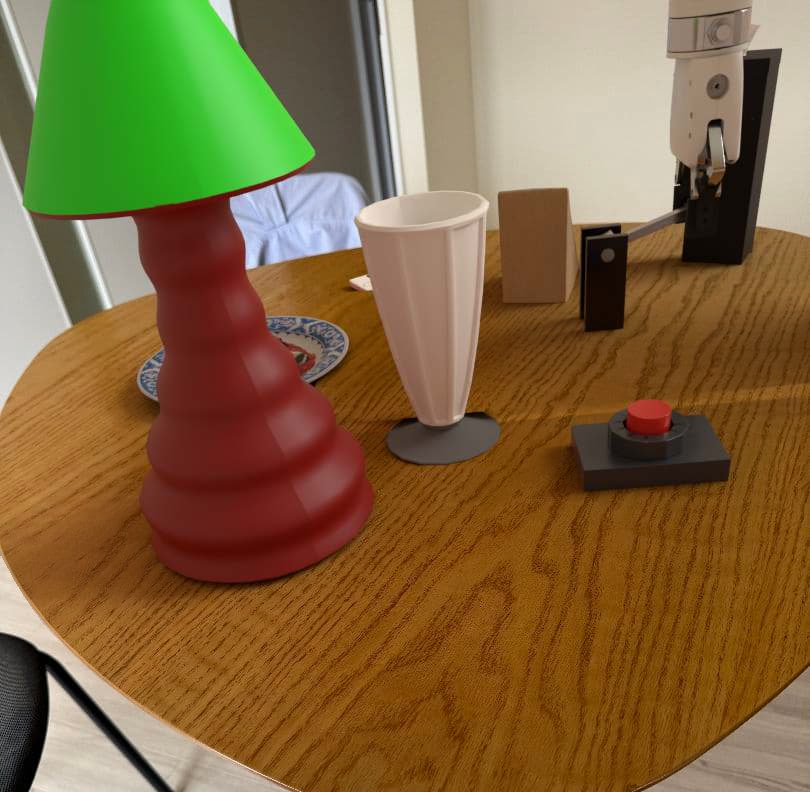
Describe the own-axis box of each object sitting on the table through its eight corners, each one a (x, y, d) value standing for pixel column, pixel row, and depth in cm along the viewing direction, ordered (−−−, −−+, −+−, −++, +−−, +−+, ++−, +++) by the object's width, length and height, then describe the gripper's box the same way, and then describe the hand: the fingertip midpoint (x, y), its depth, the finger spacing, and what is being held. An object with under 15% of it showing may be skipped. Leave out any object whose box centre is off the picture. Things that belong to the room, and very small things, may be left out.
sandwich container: (582, 271, 111) (584, 157, 102) (568, 312, 100) (569, 187, 91) (522, 272, 114) (519, 161, 105) (501, 312, 102) (496, 190, 93)
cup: (412, 478, 72) (380, 237, 59) (369, 428, 81) (334, 209, 68) (522, 443, 75) (515, 206, 62) (470, 398, 83) (454, 182, 71)
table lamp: (210, 624, 59) (-77, -182, 32) (121, 517, 72) (-131, -110, 46) (419, 515, 67) (329, -196, 40) (304, 438, 81) (180, -131, 54)
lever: (696, 210, 87) (691, 189, 86) (708, 222, 83) (703, 200, 82) (590, 256, 91) (584, 236, 89) (597, 269, 87) (591, 249, 85)
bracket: (644, 315, 96) (651, 215, 89) (659, 341, 90) (667, 235, 83) (546, 325, 97) (545, 227, 90) (553, 350, 91) (553, 247, 84)
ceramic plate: (323, 317, 109) (320, 296, 107) (377, 387, 88) (373, 362, 87) (137, 360, 104) (130, 338, 102) (148, 444, 83) (140, 419, 82)
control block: (702, 435, 72) (707, 395, 70) (727, 481, 66) (734, 440, 63) (570, 445, 73) (571, 407, 71) (583, 492, 67) (584, 452, 65)
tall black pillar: (740, 275, 103) (775, 23, 87) (679, 271, 107) (701, 29, 90) (752, 256, 109) (787, 15, 92) (693, 253, 112) (717, 21, 96)
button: (664, 415, 69) (666, 397, 68) (674, 435, 66) (676, 416, 65) (622, 418, 69) (623, 400, 68) (630, 438, 66) (631, 420, 65)
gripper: (778, 35, 68) (753, 247, 79) (722, 23, 82) (707, 205, 93) (690, 48, 69) (677, 256, 80) (649, 34, 83) (642, 213, 93)
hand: (693, 227), depth 86 cm, fingers closed on lever, 5 cm apart
